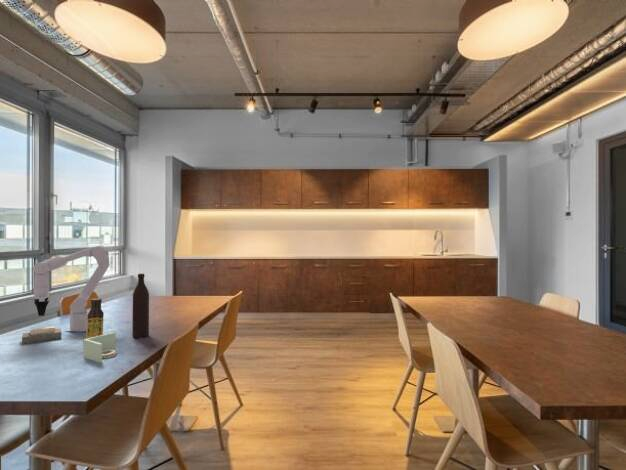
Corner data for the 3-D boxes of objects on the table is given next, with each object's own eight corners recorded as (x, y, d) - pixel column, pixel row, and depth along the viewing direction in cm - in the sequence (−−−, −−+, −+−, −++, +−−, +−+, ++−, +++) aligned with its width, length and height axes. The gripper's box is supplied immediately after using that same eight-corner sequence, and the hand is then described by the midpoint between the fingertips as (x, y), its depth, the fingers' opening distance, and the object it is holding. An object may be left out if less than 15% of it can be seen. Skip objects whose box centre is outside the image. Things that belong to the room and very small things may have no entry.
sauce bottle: (85, 346, 148) (85, 300, 148) (86, 342, 153) (87, 298, 153) (102, 344, 151) (103, 299, 151) (103, 340, 156) (104, 297, 156)
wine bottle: (151, 336, 163) (151, 273, 164) (135, 339, 158) (136, 274, 158) (145, 333, 168) (145, 272, 168) (130, 336, 163) (130, 273, 163)
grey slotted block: (60, 334, 165) (60, 328, 165) (61, 338, 159) (61, 332, 159) (22, 339, 156) (22, 333, 156) (21, 344, 150) (21, 337, 150)
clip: (54, 335, 162) (54, 326, 162) (54, 337, 159) (54, 327, 160) (30, 339, 156) (30, 329, 156) (29, 340, 154) (30, 330, 154)
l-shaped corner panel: (99, 364, 129) (99, 344, 129) (83, 358, 135) (83, 339, 135) (130, 354, 139) (130, 336, 139) (114, 349, 146) (114, 332, 146)
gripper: (31, 285, 170) (30, 312, 170) (31, 289, 159) (30, 318, 159) (48, 284, 174) (48, 310, 174) (50, 287, 163) (49, 316, 163)
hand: (41, 314), depth 167 cm, fingers open, 7 cm apart
